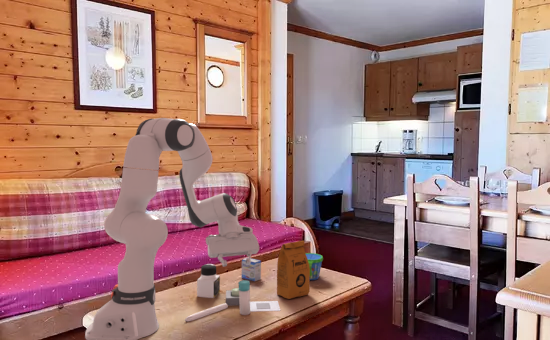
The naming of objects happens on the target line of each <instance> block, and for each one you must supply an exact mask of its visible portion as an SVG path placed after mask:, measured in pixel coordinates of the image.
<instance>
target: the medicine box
mask: <svg viewBox="0 0 550 340" xmlns="http://www.w3.org/2000/svg"><path fill="white" fill-rule="evenodd" d="M246 258H247V257H244V258H243V259H241V279H243V280H247V281H251V282H252V281H253V282H257V281H259V280H261V279H262V260H260V259H255V258H252V257H251V258H250V260H251V263H250V264H246Z"/></svg>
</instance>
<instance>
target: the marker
mask: <svg viewBox="0 0 550 340" xmlns="http://www.w3.org/2000/svg"><path fill="white" fill-rule="evenodd" d="M226 309H228V305H227V304H226V302H224V303H220V304H218V305H216V306H213V307H209V308H207V309H203V310H201V311H197V312H195V313H193V314H190V315H188V316H186V317H185V319H184V321H186V322H192V321H194V320H198V319H201V318H203V317H206V316H209V315H211V314H214V313H217V312H220V311H222V310H226Z"/></svg>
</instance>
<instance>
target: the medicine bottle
mask: <svg viewBox="0 0 550 340" xmlns="http://www.w3.org/2000/svg"><path fill="white" fill-rule="evenodd" d="M220 276H221V275H220V274H217V265H215V264H212V263H207V264H204V265H203V264H202V265H201V267H200V277H199V278H197V281H196V287H197V288H196V290H197V292H196V296H197V297H199V298H206V299H215V298H216V297H217V295H218V294H219V293H220V292H221V291H220V290H221V289H220V288H221V277H220Z"/></svg>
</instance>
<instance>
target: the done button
mask: <svg viewBox="0 0 550 340" xmlns="http://www.w3.org/2000/svg"><path fill="white" fill-rule="evenodd" d="M231 290H232V296H239V287H237V288H236V287H235V288H232V289H231Z"/></svg>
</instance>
